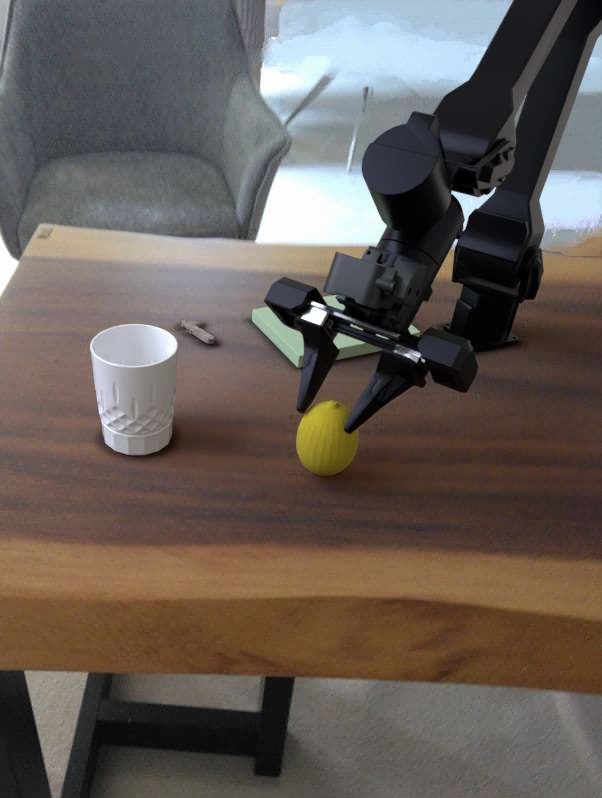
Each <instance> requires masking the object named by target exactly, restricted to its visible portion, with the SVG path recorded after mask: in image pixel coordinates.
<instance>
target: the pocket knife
mask: <svg viewBox="0 0 602 798" xmlns="http://www.w3.org/2000/svg"><path fill="white" fill-rule="evenodd" d="M204 323H205V322H204V321H194V320H187V319H184V320H181V325H180V326H181V327H183V328H185V329H186V333H187V334H190V335H193V336H195V337H196V338H198V339H199V340H201V341H203V342H204V343H206V344H214V343H215V337H214V336H213V335H212V334H210V333H208V332H207V331H206V330H204V329H203V328H201V327H199V326H202V325H203V324H204Z"/></svg>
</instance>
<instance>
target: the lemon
mask: <svg viewBox="0 0 602 798" xmlns="http://www.w3.org/2000/svg"><path fill="white" fill-rule="evenodd" d="M351 412H352V410H351V409H350V407H348V406H347V405H346V404H344V403H342V402H340V401H337V400H335V399H331V400H323V401H319V402H318V403H316V404H313V405H312V406H311V407H310V408H308V409H307V410H306V411H305V413H304V414H303V416H302V418H301V420H300V422H299V425H298V427H297V431H296V437H295V438H296V440H295V446H296V447H295V448H296V453H297V456H298V458H299V461H300V462H301V464H302V465H303V467H305V469H307V470H308V471H309V472H311V473H313V474H316V475H319V476H321V477H324V476H332V475H337V474H338V473H341V472H343V471H344V470H346V468H348V466H349V465H350V464H351V462H353V460H354V458H355V456H356V453H357V450H358V447H359V440H360V431H359V427H358V428H357V429H356V430H355V431H354V432H352V433H351V434H347V433H346V432H345V431H344V427H345V425H346V423H347V420H348V418H349V416H350V414H351Z"/></svg>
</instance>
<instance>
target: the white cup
mask: <svg viewBox="0 0 602 798" xmlns="http://www.w3.org/2000/svg"><path fill="white" fill-rule="evenodd" d="M178 343H179V342H178V339H177V338H176V337H175V336H174V335H173V334H172V333H171V332H169V331H168V330H166V329H164V328H161V327H158V326H154V325H150V324H145V323H144V324H143V323H127V324H126V323H125V324H119V325H115V326H112V327H108V328H106V329H104V330H102V331H100V332H99V333H97V334H96V335H94V336H93V338H92V339H91V341H90V344H89V347H90V348H89V349H90V356H91V364H92V372H93V380H94V381H93V383H94V389H95V394H96V401H97V408H98V415H99V418H100V421H101V423H100V424H101V430H102V436H103V439H104V444H105V445H106V446H108V447H109V448H110V449H112V450H113V451H114V452H117V453H121V454H124V455H127V456H146V455H150V454H153V453H157V452H159V451H161V450H162V449H163V448H165V447H167V446H168V445H169V443H170V440H171V438H172V436H173V423H174V422H173V421H174V419H173V418H174V415H175V414H174V413H175V400H176V392H177V391H176V390H177V374H178V373H177V371H178V354H179V353H178V351H179V344H178Z"/></svg>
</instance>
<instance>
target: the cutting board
mask: <svg viewBox="0 0 602 798" xmlns="http://www.w3.org/2000/svg"><path fill="white" fill-rule="evenodd" d="M322 297H323V299H324V300H325V302H326V303H327V305H329V306H332V307H335V308H338V309H341V310H344V308H345V306H344V305H343V304H340V303H339V302H338V301H337V299H336V298H335V297H336V295H327V296H322ZM251 312H252V313H251V321H252V323H254V324H255V326H256V327H257V328H258V329H259V330H260V331H261V332H262V333H263V334H264V335H265V336H266V337H267V338H268V340H270V341H271V343H273V345H275V346H276V347H277V348H278V349H279V350H280V352H282V354H284V356H286V357H287V358H288V359H289V361H291V363H292V364H294V366H295V367H296V368H298V369H299V368H303V357H304V342H303V335H302V334H301V333H300V332H299V331H296V330H294V329H291V328H289V327H287V326H285V325H284V324H282V323H281V321H280V320H279V319H278V318H277V317H276V315H275V314H274V313H273V312H272V311H271V309H270V308H269V307H268V306H265V307H259V308H254V309H252V311H251ZM350 326H352V327H354V328H357V329H360V330H363V329H361V328H358V327H357V326H353V325H352V324H351V325H350ZM409 331H410V333H411V334H412V335H415V336H418V337H420V338H421V331H420V330H419V329H418V328H416V327H415V326H414V325H413V324H411V325H410V327H409ZM376 335H377V336H379V337H382V338H385V339H388V340H389V338H386V337H383V336H381V335H378V334H376ZM333 342H334V344H335V345H336V346H337V348H338V349H339V351H340V353H339V355H338V356H337V358H336V360H335V361H339V360H344V359H348V358H353V357H354V358H355V357H357V356H362V355H363V356H364V355H368V354H372V353H378V352H382V349H381V348H379V347H376V346H373V345H370V344H368V343H365V342H362V341H359V340H357V339H354V338H351V337H349V336H346V335H343V334H340V333H338V334H337V336H336V337H335V339H334V340H333Z"/></svg>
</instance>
